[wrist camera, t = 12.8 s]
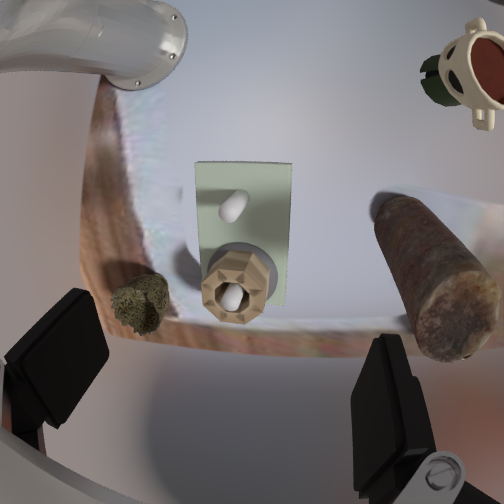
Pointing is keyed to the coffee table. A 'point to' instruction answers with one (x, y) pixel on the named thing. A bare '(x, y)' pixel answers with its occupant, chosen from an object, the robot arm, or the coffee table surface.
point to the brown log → (437, 281)
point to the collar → (236, 271)
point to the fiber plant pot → (142, 302)
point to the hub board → (245, 219)
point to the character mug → (469, 73)
